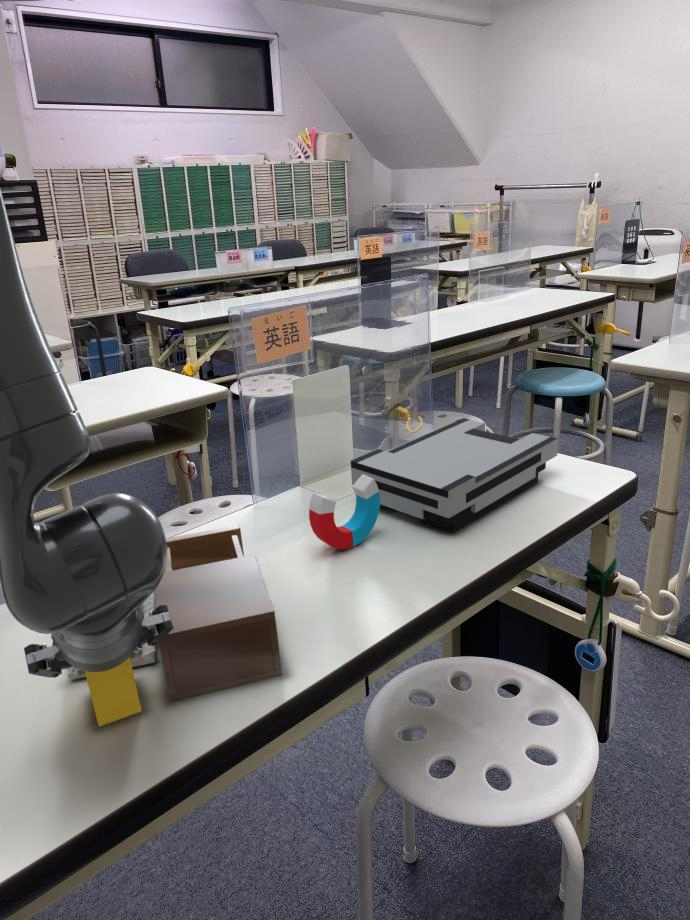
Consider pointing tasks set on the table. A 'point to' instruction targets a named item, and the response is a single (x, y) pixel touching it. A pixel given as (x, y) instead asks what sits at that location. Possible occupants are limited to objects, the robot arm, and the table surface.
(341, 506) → the table surface
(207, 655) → the cabinet
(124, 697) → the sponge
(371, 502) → the magnet
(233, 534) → the drawer
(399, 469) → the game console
